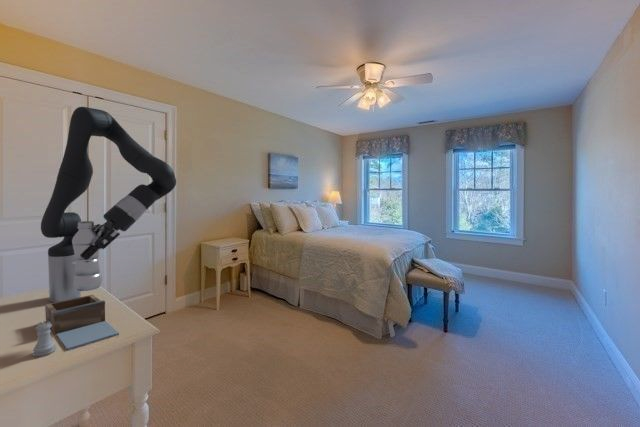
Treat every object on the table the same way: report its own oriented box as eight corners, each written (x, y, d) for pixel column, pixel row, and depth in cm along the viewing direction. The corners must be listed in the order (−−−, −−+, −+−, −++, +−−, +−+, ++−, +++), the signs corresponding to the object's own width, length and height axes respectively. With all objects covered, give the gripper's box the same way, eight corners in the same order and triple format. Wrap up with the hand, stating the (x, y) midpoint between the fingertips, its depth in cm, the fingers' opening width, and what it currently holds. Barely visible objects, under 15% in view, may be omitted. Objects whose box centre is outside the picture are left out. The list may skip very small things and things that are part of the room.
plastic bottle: (87, 294, 83) (84, 223, 82) (67, 292, 85) (64, 222, 83) (107, 287, 90) (106, 221, 88) (89, 285, 91) (87, 220, 89)
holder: (45, 322, 95) (45, 301, 94) (93, 311, 105) (92, 292, 104) (55, 335, 87) (54, 312, 87) (105, 321, 97) (105, 301, 96)
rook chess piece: (29, 358, 75) (28, 328, 75) (37, 349, 79) (36, 320, 79) (51, 355, 77) (51, 325, 77) (58, 347, 81) (58, 318, 81)
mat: (56, 335, 87) (56, 333, 87) (105, 322, 96) (105, 320, 96) (67, 350, 80) (67, 348, 80) (118, 334, 89) (118, 332, 89)
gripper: (107, 203, 96) (60, 244, 87) (124, 206, 87) (74, 252, 78) (126, 219, 100) (83, 259, 92) (144, 223, 91) (99, 268, 83)
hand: (79, 255), depth 85 cm, fingers closed on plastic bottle, 6 cm apart
